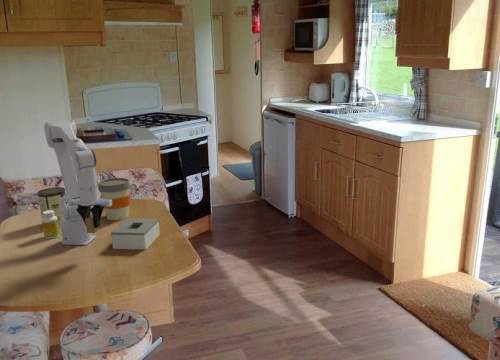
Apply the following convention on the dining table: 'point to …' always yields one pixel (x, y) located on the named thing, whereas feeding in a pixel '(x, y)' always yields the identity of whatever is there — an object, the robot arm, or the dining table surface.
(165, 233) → the dining table surface
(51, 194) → the coffee can
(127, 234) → the box
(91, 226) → the tan rectangular block
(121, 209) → the reusable coffee cup
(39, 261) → the dining table surface
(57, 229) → the supplement bottle
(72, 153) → the robot arm
